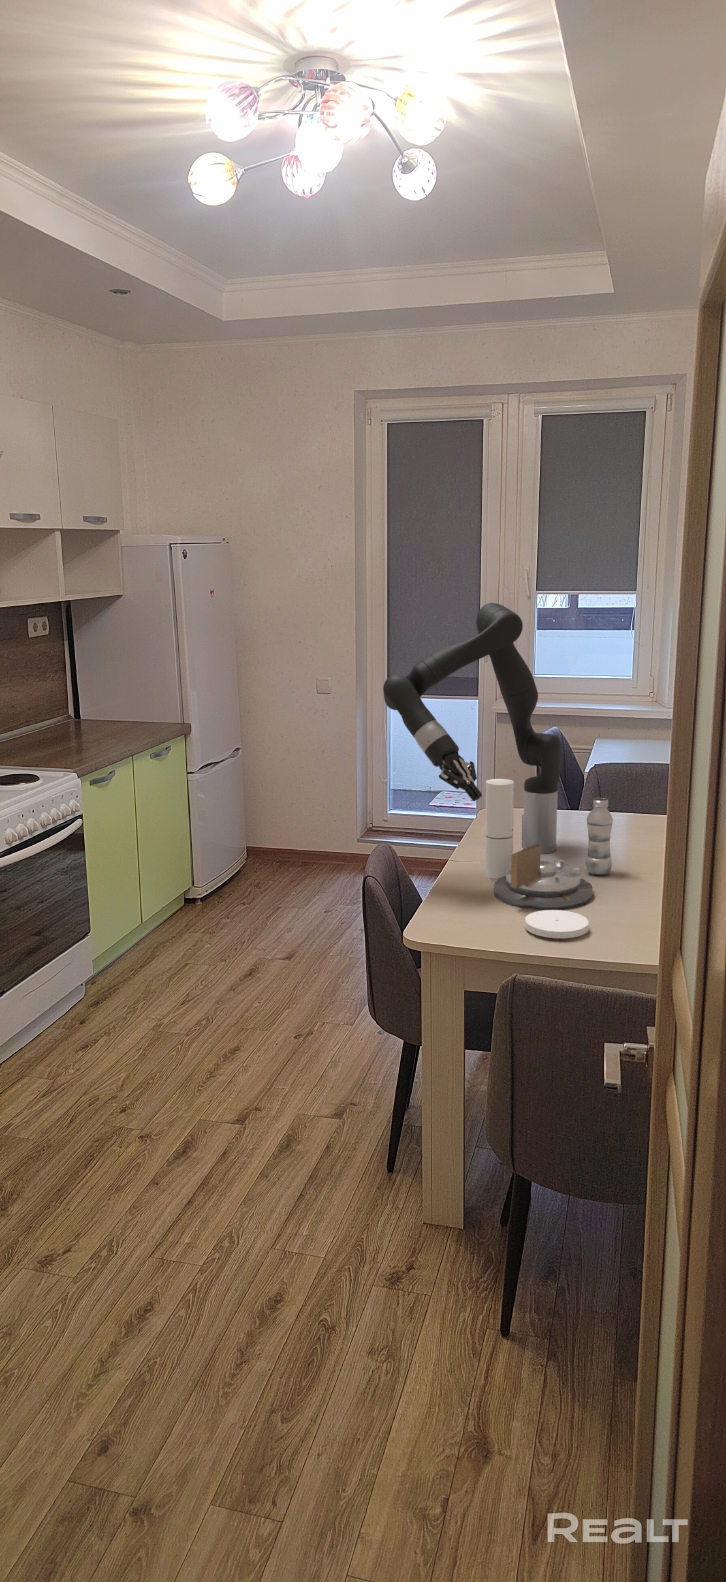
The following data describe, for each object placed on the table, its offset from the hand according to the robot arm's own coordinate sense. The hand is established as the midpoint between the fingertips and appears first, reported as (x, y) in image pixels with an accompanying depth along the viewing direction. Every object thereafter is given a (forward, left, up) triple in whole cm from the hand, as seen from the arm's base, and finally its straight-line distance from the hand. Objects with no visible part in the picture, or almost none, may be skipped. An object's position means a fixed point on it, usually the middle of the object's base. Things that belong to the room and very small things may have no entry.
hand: (478, 798), depth 250 cm
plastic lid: (+28, +3, -25) cm, 38 cm away
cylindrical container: (-12, +14, -25) cm, 31 cm away
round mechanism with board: (+7, +13, -23) cm, 27 cm away
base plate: (+6, +15, -25) cm, 30 cm away
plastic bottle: (0, +37, -25) cm, 45 cm away
